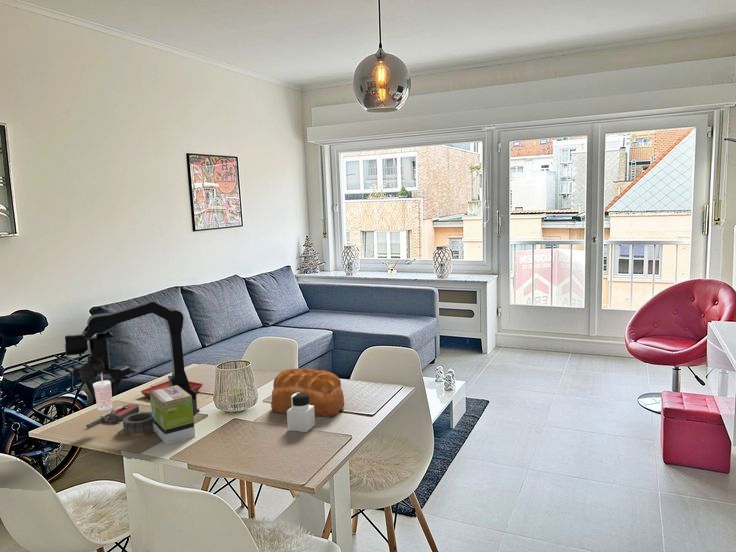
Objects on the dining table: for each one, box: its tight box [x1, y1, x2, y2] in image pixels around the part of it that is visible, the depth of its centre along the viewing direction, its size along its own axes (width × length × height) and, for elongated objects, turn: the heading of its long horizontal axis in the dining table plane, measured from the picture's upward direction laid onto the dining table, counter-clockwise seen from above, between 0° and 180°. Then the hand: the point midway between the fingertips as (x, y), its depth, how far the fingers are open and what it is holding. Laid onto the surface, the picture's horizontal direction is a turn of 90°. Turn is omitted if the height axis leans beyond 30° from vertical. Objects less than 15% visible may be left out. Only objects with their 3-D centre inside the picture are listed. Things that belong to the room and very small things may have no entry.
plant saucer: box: [140, 380, 204, 398], centre depth 235 cm, size 18×18×3 cm
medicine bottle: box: [286, 392, 316, 433], centre depth 193 cm, size 7×7×12 cm
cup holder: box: [116, 411, 155, 437], centre depth 197 cm, size 11×11×4 cm
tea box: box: [149, 385, 196, 446], centre depth 191 cm, size 15×10×15 cm, turn 36°
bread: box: [270, 368, 345, 417], centre depth 211 cm, size 14×26×16 cm, turn 71°
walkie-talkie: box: [85, 403, 140, 428], centre depth 208 cm, size 9×4×20 cm
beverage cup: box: [93, 374, 113, 411], centre depth 196 cm, size 6×6×14 cm
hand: (103, 395), depth 196 cm, fingers closed on beverage cup, 7 cm apart
